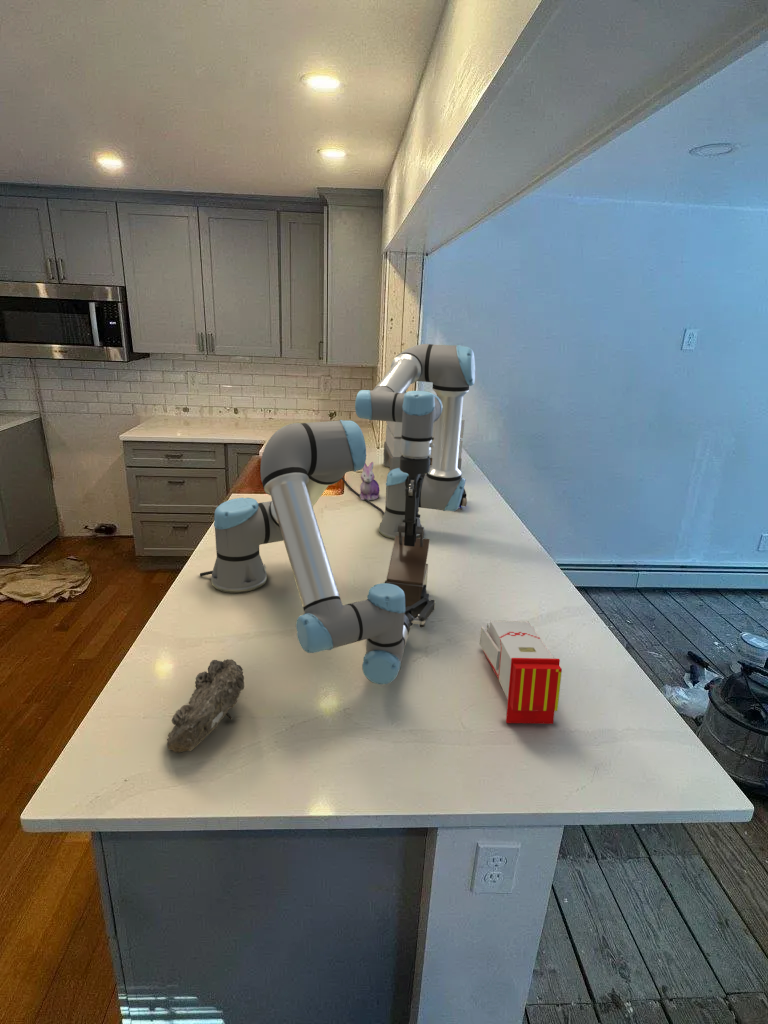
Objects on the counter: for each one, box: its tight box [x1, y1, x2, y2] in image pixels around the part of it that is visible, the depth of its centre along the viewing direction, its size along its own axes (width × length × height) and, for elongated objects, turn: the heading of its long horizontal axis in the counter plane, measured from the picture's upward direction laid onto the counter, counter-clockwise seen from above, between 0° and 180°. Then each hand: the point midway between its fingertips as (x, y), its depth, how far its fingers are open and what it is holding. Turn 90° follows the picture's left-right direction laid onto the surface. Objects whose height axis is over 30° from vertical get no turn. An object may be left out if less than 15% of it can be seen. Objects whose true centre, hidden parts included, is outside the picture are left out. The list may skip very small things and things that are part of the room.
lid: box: [386, 524, 431, 586], centre depth 146 cm, size 14×9×9 cm
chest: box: [387, 563, 429, 617], centre depth 152 cm, size 14×9×9 cm
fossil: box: [166, 658, 245, 754], centre depth 106 cm, size 22×10×15 cm
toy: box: [478, 620, 563, 725], centre depth 121 cm, size 12×13×30 cm
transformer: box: [383, 391, 465, 472], centre depth 268 cm, size 34×33×41 cm
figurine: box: [359, 461, 381, 501], centre depth 233 cm, size 9×10×15 cm
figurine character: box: [458, 488, 468, 511], centre depth 230 cm, size 7×8×15 cm
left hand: (405, 587), depth 148 cm, fingers closed on chest, 9 cm apart
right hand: (409, 543), depth 148 cm, fingers closed on lid, 2 cm apart
